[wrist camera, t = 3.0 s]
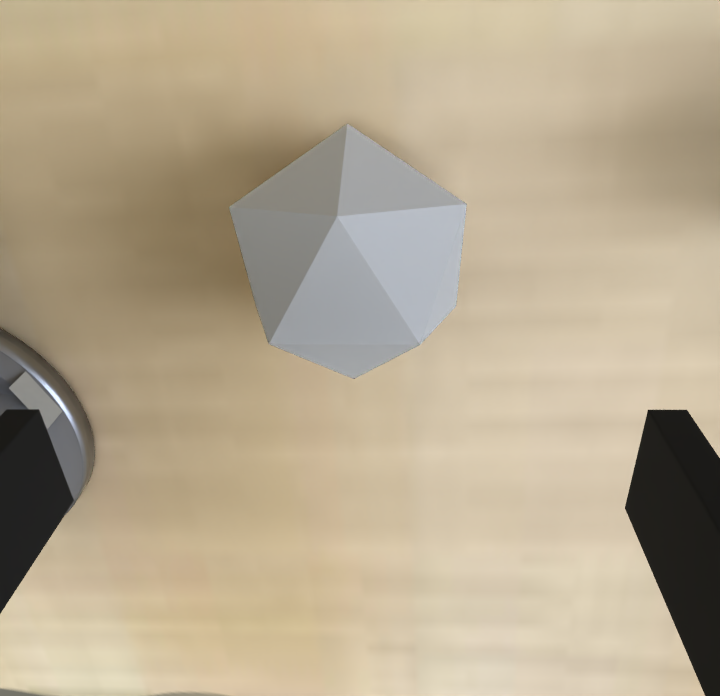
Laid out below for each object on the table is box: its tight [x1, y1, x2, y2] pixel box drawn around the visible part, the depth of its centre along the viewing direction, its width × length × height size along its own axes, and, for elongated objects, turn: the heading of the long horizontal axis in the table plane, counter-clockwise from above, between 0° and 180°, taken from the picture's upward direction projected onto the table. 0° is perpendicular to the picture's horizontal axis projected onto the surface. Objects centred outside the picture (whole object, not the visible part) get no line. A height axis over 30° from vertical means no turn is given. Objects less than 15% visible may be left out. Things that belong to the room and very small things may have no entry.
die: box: [229, 124, 467, 379], centre depth 24 cm, size 8×9×10 cm
